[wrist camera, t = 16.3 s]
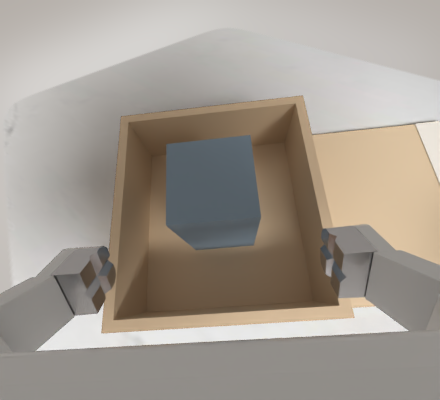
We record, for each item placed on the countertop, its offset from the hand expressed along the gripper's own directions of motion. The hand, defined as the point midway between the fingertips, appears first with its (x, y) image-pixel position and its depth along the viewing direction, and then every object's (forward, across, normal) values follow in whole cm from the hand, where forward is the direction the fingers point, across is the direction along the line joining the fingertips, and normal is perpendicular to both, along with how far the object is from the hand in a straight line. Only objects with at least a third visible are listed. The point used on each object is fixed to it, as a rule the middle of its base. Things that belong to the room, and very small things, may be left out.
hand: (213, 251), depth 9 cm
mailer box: (+10, -6, +5) cm, 13 cm away
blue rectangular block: (+10, 0, +4) cm, 10 cm away
